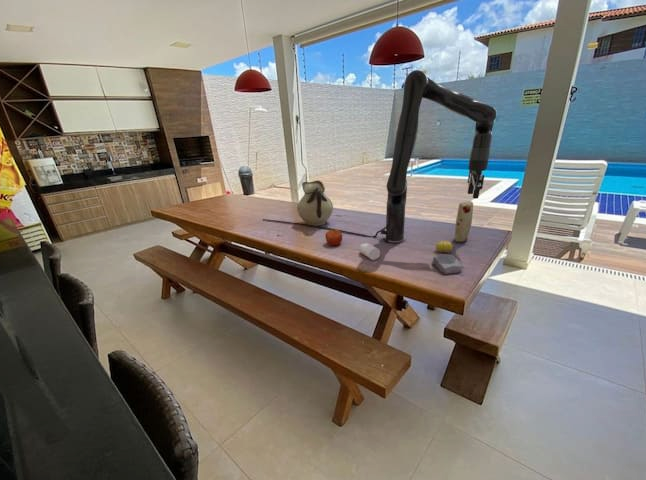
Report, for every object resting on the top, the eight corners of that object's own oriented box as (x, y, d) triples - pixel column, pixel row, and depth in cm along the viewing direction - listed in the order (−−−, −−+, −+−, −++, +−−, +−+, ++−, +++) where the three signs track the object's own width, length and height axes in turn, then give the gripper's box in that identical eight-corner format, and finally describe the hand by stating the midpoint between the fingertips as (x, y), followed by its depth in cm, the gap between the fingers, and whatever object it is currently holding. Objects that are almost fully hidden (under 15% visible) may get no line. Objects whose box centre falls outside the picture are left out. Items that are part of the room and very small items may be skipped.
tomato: (331, 248, 155) (331, 233, 151) (322, 243, 162) (321, 229, 158) (346, 244, 159) (346, 229, 155) (337, 239, 166) (336, 225, 163)
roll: (367, 249, 151) (367, 239, 149) (380, 258, 141) (380, 247, 138) (356, 252, 149) (356, 241, 147) (368, 261, 139) (368, 249, 137)
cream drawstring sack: (313, 216, 208) (310, 178, 197) (342, 221, 196) (340, 181, 185) (291, 225, 192) (286, 185, 181) (321, 231, 179) (318, 188, 169)
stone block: (451, 264, 135) (430, 262, 134) (454, 254, 133) (433, 252, 132) (464, 277, 125) (441, 275, 123) (468, 267, 123) (445, 264, 121)
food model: (463, 244, 150) (469, 204, 141) (450, 241, 154) (455, 202, 146) (471, 239, 156) (477, 200, 147) (458, 236, 160) (463, 198, 152)
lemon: (436, 253, 142) (437, 243, 140) (434, 249, 147) (435, 239, 144) (453, 254, 141) (454, 243, 139) (450, 249, 145) (452, 239, 143)
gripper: (465, 156, 138) (460, 192, 145) (474, 160, 126) (468, 200, 133) (483, 156, 137) (476, 192, 144) (494, 160, 125) (486, 199, 132)
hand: (472, 196), depth 139 cm, fingers open, 8 cm apart
